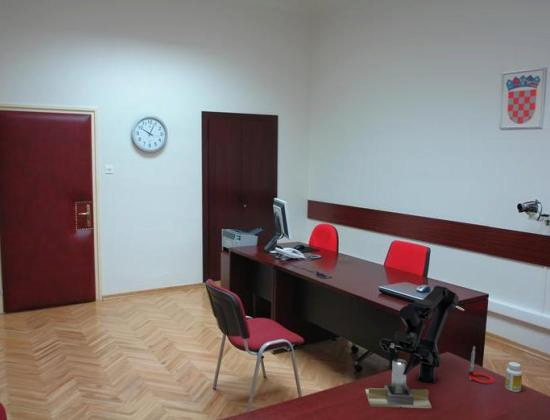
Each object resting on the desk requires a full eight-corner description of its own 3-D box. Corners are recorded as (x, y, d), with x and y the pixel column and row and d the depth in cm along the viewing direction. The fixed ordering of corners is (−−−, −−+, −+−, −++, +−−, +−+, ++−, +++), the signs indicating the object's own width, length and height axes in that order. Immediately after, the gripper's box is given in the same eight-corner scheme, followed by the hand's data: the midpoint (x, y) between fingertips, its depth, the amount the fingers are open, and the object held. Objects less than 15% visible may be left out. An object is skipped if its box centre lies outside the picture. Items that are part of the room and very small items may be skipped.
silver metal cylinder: (405, 387, 173) (406, 359, 172) (406, 394, 168) (407, 365, 167) (391, 386, 174) (392, 358, 173) (391, 392, 169) (392, 363, 168)
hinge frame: (365, 391, 179) (365, 379, 178) (422, 393, 178) (423, 381, 178) (370, 406, 168) (370, 394, 167) (431, 408, 167) (431, 395, 167)
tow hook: (494, 378, 192) (469, 372, 196) (497, 347, 191) (472, 342, 194) (493, 387, 185) (467, 381, 188) (497, 355, 183) (471, 349, 187)
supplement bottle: (522, 388, 183) (524, 364, 182) (518, 393, 179) (520, 368, 178) (507, 384, 186) (509, 359, 185) (503, 388, 182) (504, 364, 181)
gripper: (382, 316, 178) (366, 354, 171) (431, 328, 166) (416, 369, 159) (391, 331, 185) (376, 368, 177) (439, 344, 173) (425, 384, 165)
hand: (397, 372), depth 170 cm, fingers closed on silver metal cylinder, 5 cm apart
